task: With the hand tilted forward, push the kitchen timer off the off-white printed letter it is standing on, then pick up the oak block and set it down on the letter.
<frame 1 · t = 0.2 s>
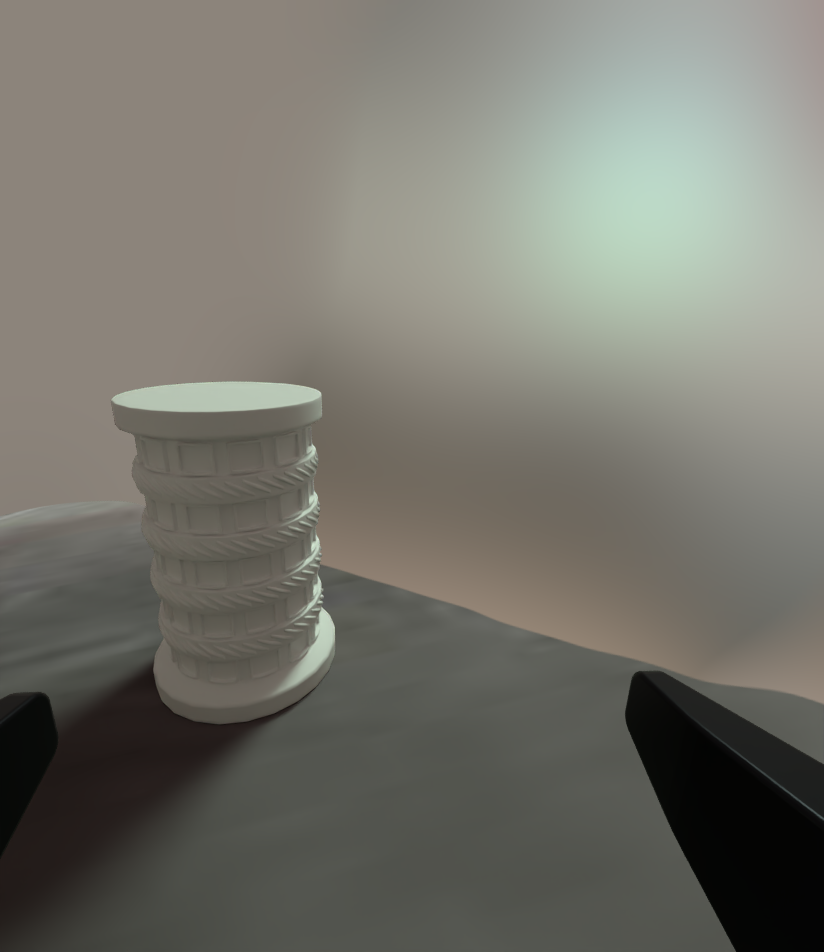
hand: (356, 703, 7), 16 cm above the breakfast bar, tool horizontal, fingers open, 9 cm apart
decorative container: (251, 657, 32), on the breakfast bar
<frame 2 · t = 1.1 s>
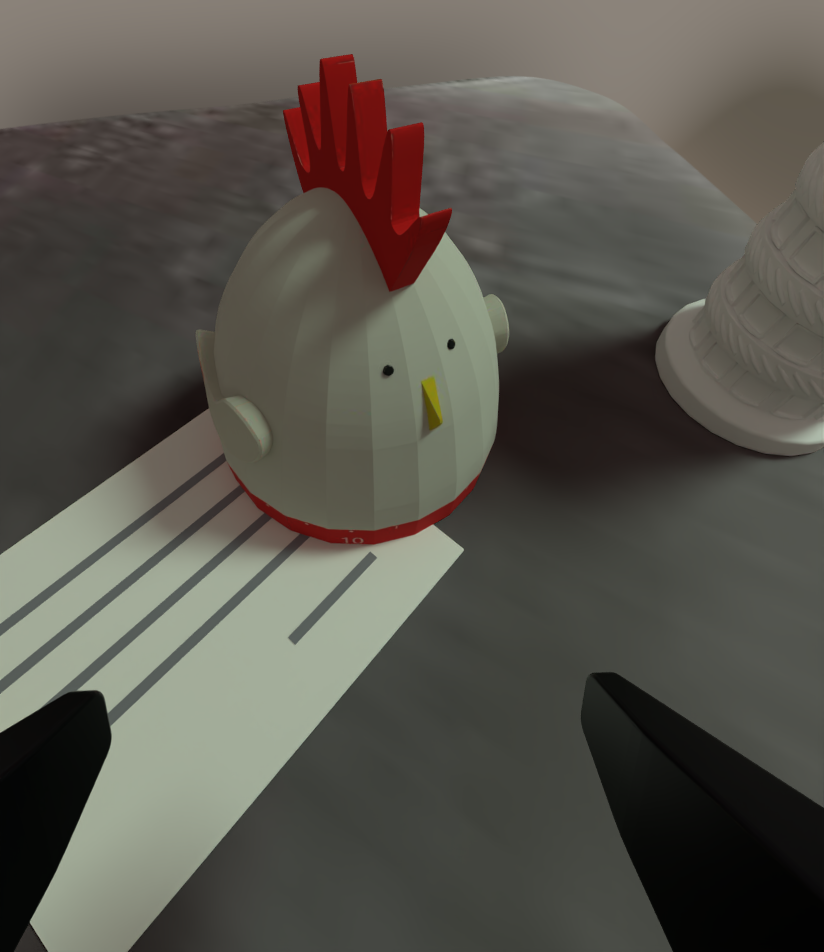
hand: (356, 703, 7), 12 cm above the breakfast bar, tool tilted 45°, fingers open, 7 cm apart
letter: (193, 597, 19), on the breakfast bar
decorative container: (744, 379, 29), on the breakfast bar
kitchen timer: (361, 425, 25), resting on letter
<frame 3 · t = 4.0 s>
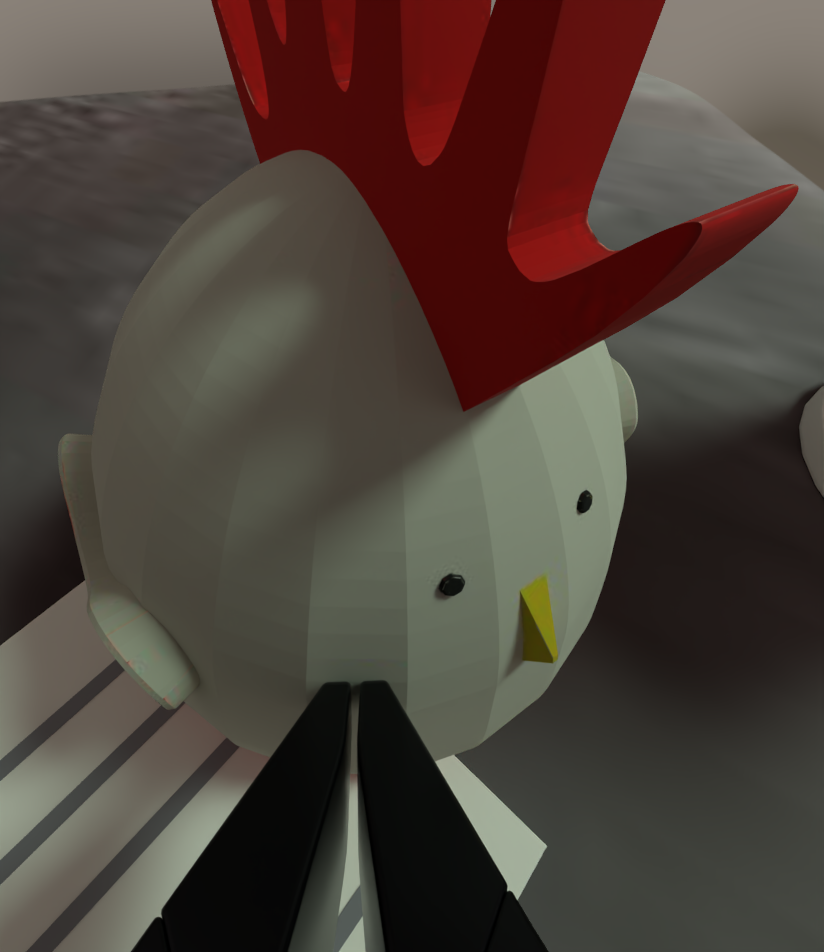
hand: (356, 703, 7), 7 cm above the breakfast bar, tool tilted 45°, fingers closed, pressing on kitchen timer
kitchen timer: (371, 537, 16), resting on letter, touching gripper
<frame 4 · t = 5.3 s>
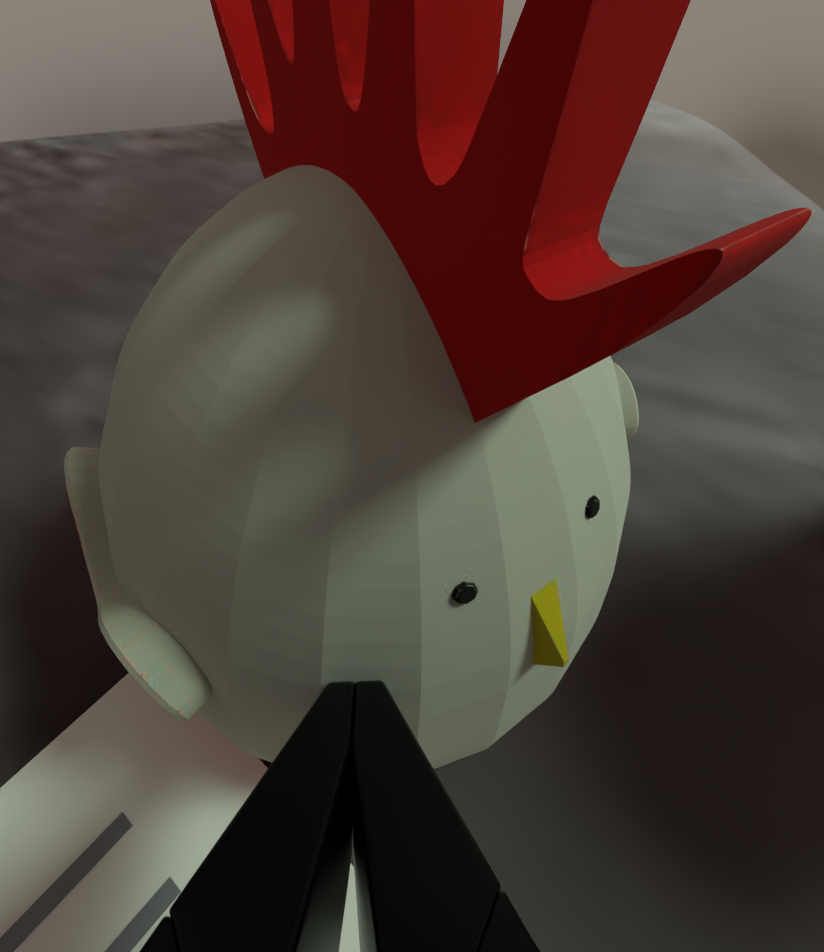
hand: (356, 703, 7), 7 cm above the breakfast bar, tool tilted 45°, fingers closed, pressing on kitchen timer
kitchen timer: (374, 542, 16), on the breakfast bar, touching gripper, letter
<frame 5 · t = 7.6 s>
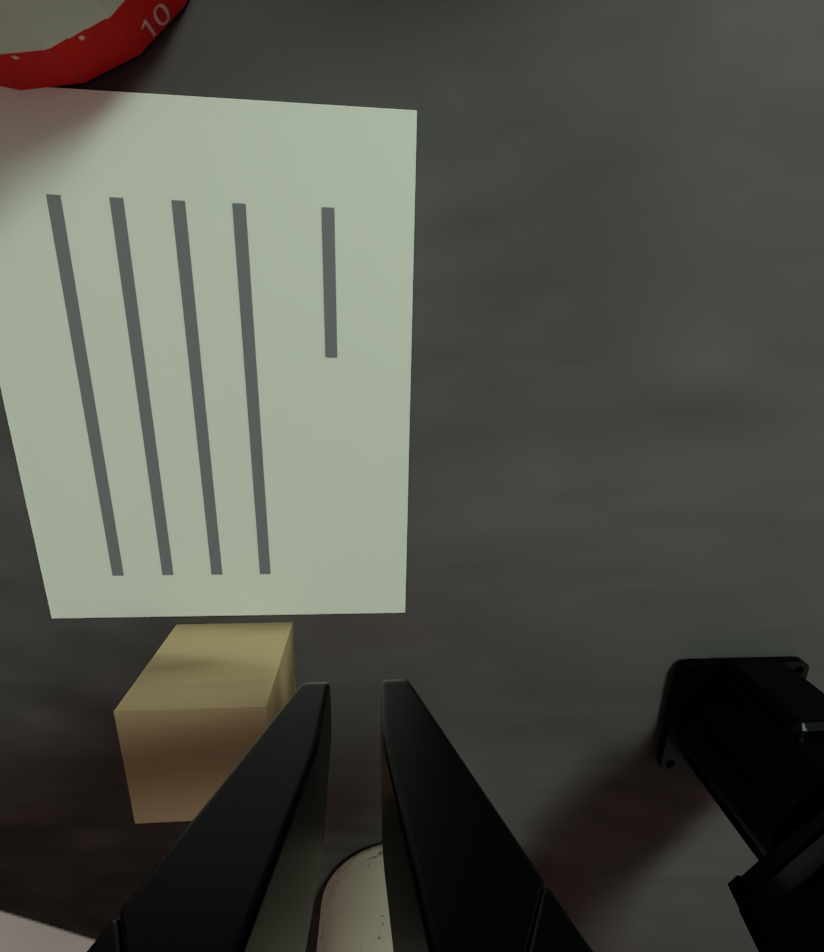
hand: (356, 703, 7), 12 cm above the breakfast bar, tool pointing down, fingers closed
letter: (213, 395, 17), on the breakfast bar
teacup with lid: (425, 891, 26), on the breakfast bar
block: (240, 669, 21), on the breakfast bar
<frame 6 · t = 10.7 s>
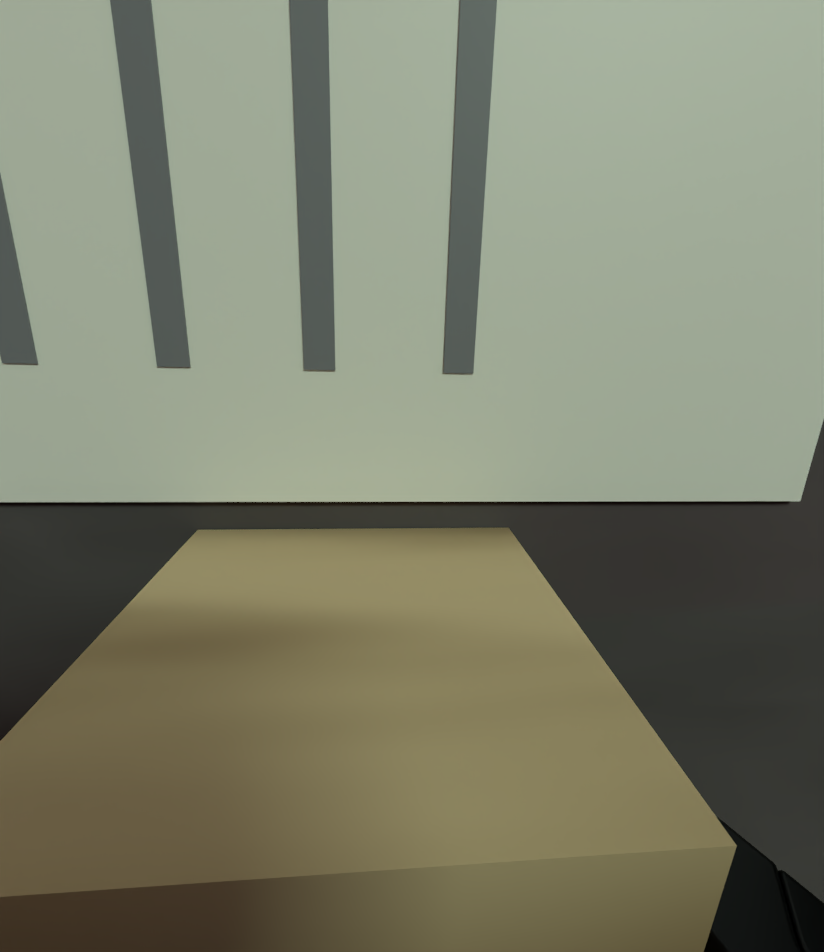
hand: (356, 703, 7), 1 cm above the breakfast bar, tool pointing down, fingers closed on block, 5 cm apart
block: (358, 659, 8), on the breakfast bar, touching gripper
when the fingers open (2 cm above the breakfast bar, at t = 14.4 s): block drops 1 cm, resting on letter.
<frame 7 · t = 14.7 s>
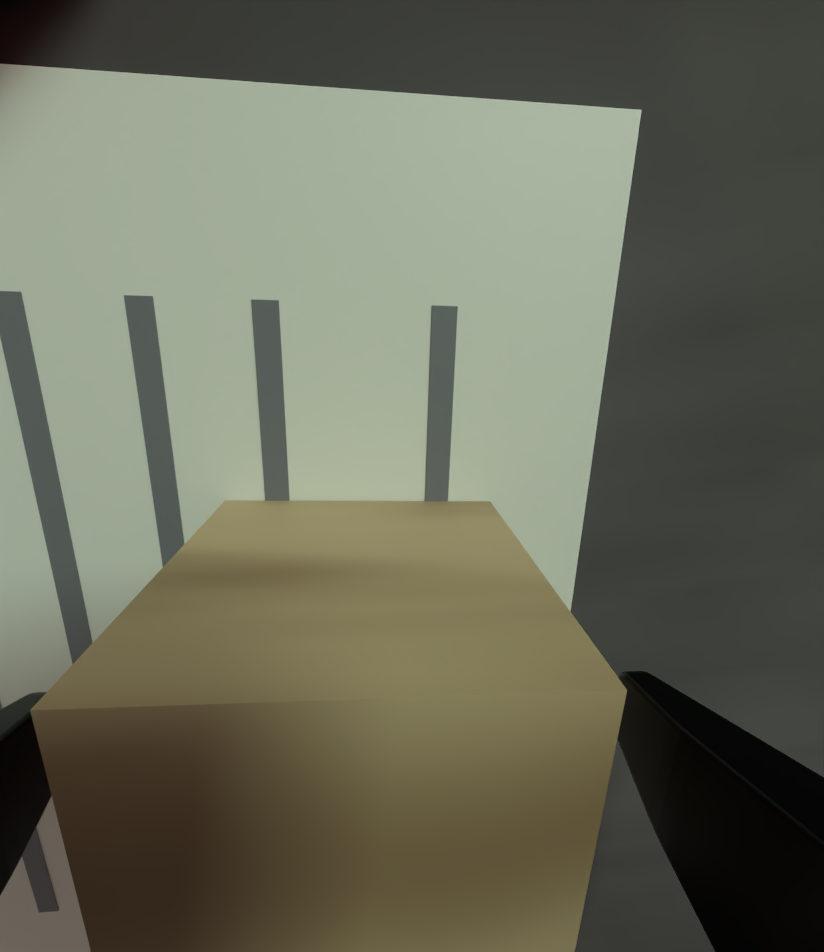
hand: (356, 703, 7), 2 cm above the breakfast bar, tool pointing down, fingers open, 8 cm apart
letter: (212, 636, 9), on the breakfast bar
block: (361, 615, 9), resting on letter
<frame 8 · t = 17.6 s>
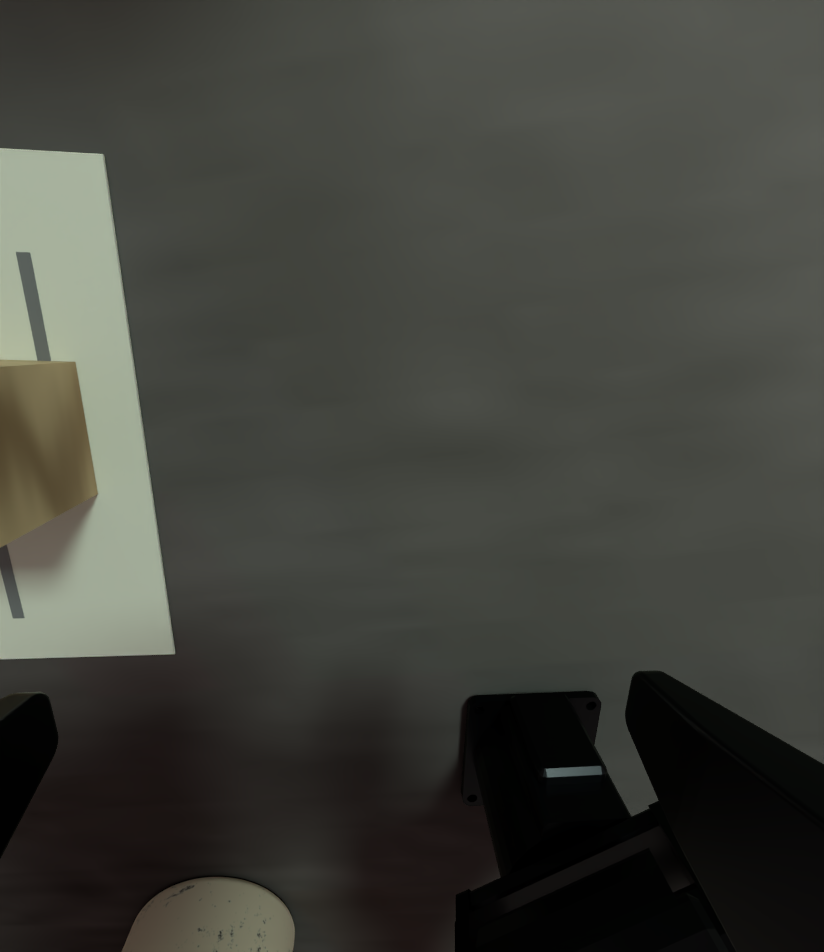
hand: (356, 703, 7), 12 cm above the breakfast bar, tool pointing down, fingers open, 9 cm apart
teacup with lid: (244, 924, 26), on the breakfast bar
block: (15, 429, 17), resting on letter
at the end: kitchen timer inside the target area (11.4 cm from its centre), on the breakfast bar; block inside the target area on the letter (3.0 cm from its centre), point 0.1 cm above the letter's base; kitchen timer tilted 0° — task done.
